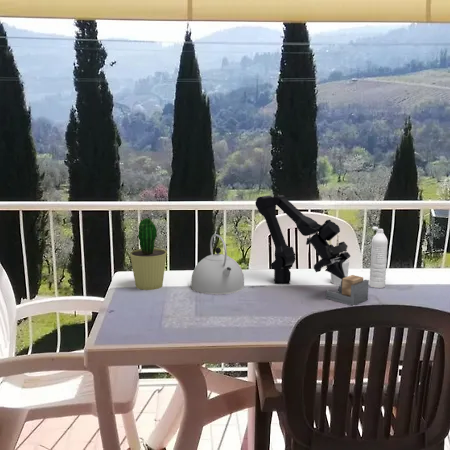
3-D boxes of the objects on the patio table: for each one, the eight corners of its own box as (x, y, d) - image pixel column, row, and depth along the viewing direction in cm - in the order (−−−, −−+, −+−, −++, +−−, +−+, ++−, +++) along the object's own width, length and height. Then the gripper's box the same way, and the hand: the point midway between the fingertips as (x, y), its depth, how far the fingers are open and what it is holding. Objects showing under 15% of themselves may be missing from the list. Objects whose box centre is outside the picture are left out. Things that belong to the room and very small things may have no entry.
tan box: (339, 297, 217) (339, 277, 215) (348, 293, 222) (349, 274, 220) (352, 301, 213) (353, 281, 211) (362, 296, 218) (363, 277, 216)
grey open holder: (325, 298, 219) (326, 279, 218) (339, 292, 227) (340, 273, 225) (353, 305, 211) (354, 285, 209) (367, 299, 218) (368, 280, 216)
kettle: (255, 293, 226) (256, 239, 222) (203, 299, 218) (203, 243, 214) (232, 276, 249) (232, 228, 245) (184, 282, 241) (183, 231, 237)
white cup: (343, 286, 235) (344, 263, 233) (326, 283, 240) (327, 260, 238) (351, 282, 241) (352, 260, 239) (334, 279, 246) (335, 257, 244)
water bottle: (387, 287, 234) (391, 229, 229) (374, 288, 232) (377, 230, 227) (377, 281, 242) (380, 226, 237) (363, 283, 240) (366, 226, 235)
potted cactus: (165, 291, 227) (163, 220, 221) (127, 291, 227) (125, 219, 222) (169, 281, 242) (168, 213, 236) (134, 280, 242) (132, 213, 237)
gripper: (321, 239, 212) (344, 273, 207) (347, 232, 225) (370, 263, 220) (303, 255, 219) (325, 288, 214) (330, 247, 232) (351, 278, 227)
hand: (344, 279), depth 218 cm, fingers closed, pressing on tan box
